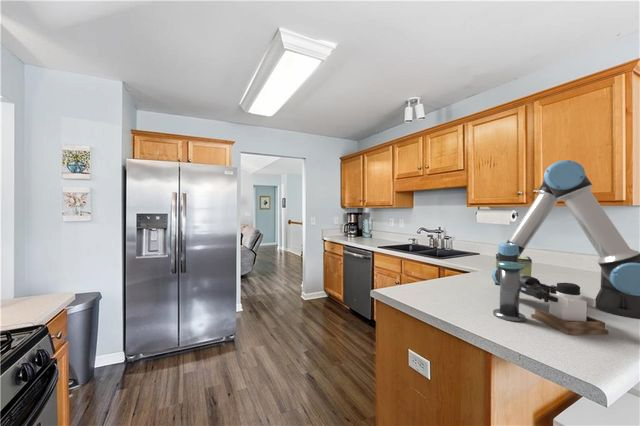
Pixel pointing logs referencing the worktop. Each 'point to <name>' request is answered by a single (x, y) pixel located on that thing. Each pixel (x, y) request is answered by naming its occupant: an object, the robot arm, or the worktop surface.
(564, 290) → the medicine bottle
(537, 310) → the notched board
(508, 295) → the bobbin post
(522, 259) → the protein box
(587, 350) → the worktop surface
